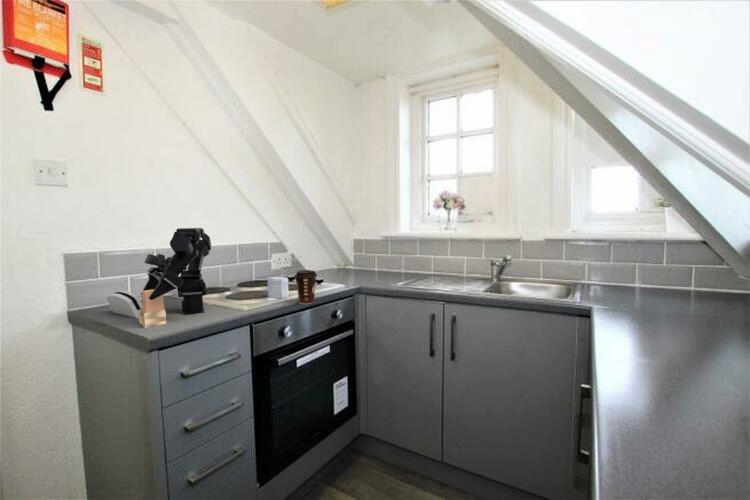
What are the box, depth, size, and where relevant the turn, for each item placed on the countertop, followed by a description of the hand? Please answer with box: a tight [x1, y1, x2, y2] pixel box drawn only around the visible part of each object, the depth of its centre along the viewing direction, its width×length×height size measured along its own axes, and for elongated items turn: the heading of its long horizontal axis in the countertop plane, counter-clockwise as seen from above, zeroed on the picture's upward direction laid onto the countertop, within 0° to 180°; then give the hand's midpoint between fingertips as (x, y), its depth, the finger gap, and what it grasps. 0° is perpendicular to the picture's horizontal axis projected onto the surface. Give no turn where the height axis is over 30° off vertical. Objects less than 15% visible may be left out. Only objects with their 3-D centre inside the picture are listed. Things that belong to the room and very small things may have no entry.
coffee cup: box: [294, 269, 318, 305], centre depth 145 cm, size 9×8×13 cm
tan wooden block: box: [138, 309, 167, 329], centre depth 118 cm, size 6×8×4 cm
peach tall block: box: [140, 289, 166, 321], centre depth 118 cm, size 5×4×10 cm
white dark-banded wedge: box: [106, 290, 143, 319], centre depth 130 cm, size 17×5×10 cm, turn 61°
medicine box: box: [267, 276, 289, 300], centre depth 156 cm, size 8×4×9 cm, turn 65°
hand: (145, 297), depth 117 cm, fingers open, 9 cm apart
